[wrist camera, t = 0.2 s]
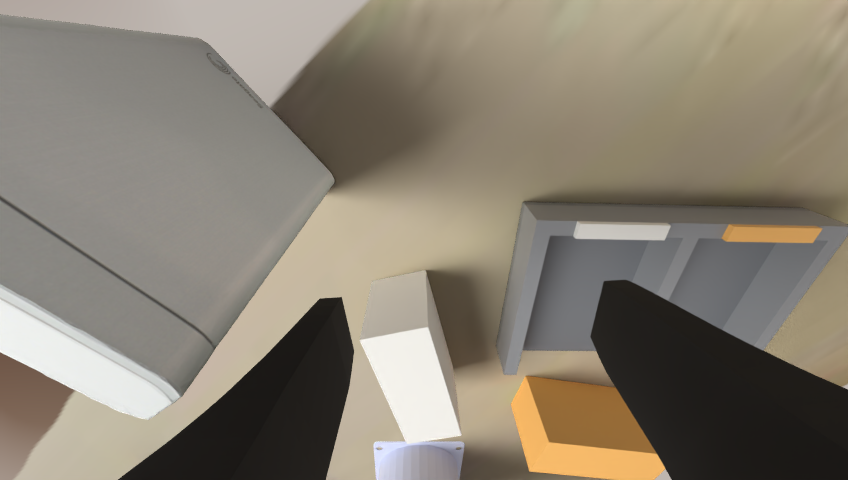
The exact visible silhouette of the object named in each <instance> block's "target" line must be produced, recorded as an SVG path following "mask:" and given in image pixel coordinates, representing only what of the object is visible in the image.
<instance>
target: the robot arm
mask: <svg viewBox="0 0 848 480" xmlns="http://www.w3.org/2000/svg"><path fill="white" fill-rule="evenodd" d="M590 337H591V339H592V342H593V344H594V346H595V349H596V351H597V353H598V356H599V358H600V360H601V362H602V364H603V366H604V368H605V370H606V372H607V374H608V376H609V377H610V379H611V381H612V382H613V384H614V385H615V387H616V389H617V390H618V392H619V394H620V395H621V397H622V399H623V400H624V402H625V403H626V405H627V407H628V408H629V410H630V411H631V413H632V415H633V416H634V418H635V419H636V421H637V423H638V424H639V426H640V428H641V429H642V431H643V432H644V434H645V436H646V437H647V439H648V440H649V442H650V444H651V445H652V447H653V448H654V450H655V452H656V453H657V455H658V456H659V458H660V460H661V462H662V463H663V465H664V467H665V469H666V470H667V472H668V474H669V476H670V477H671V479H672V480H848V390H847V389H845V388H843V387H841V386H838V385H836V384H834V383H831V382H829V381H827V380H825V379H822V378H820V377H818V376H815V375H813V374H811V373H809V372H807V371H805V370H802V369H800V368H798V367H796V366H794V365H792V364H789V363H787V362H785V361H783V360H781V359H779V358H777V357H775V356H773V355H771V354H769V353H767V352H765V351H763V350H761V349H759V348H757V347H755V346H753V345H751V344H749V343H747V342H745V341H743V340H741V339H739V338H737V337H735V336H733V335H731V334H729V333H727V332H725V331H723V330H722V329H720V328H718V327H716V326H714V325H712V324H710V323H708V322H706V321H705V320H703V319H701V318H699V317H697V316H695V315H693V314H692V313H690V312H688V311H686V310H684V309H682V308H680V307H679V306H677V305H675V304H673V303H671V302H669V301H668V300H666V299H664V298H662V297H660V296H658V295H656V294H654V293H653V292H651V291H649V290H647V289H645V288H643V287H641V286H639V285H637V284H635V283H633V282H631V281H628V280H611V281H604V282H603V286H602V290H601V294H600V298H599V303H598V307H597V311H596V315H595V319H594V323H593V327H592V331H591V336H590ZM353 355H354V349H353V344H352V340H351V336H350V331H349V327H348V323H347V318H346V314H345V310H344V305H343V301H342V297H339V298H323V299H319V300H318V301H317V302H316V303H315V304H314V305H313V306H312V307H311V308H310V310H309V311H308V312H307V313H306V314H305V315H304V316H303V317H302V318H301V319H300V320H299V321H298V322H297V323H296V324H295V326H294V327H293V328H292V329H291V330H290V331H289V332H288V333H287V334H286V335H285V336H284V337H283V338H282V339H281V340H280V341H279V342H278V343H277V344H276V345H275V346H274V347H273V348H272V350H271V351H270V352H269V353H268V354H267V355H266V356H265V357H264V358H263V359H262V360H261V361H260V362H258V363H257V364H256V365H255V366H254V367H253V368H252V369H251V370H250V371H249V372H248V373H247V374H246V375H245V376H244V377H243V378H242V379H241V380H240V381H239V382H237V383H236V384H235V385H234V386H233V387H232V388H231V389H230V390H229V391H228V392H227V393H226V394H225V395H223V396H222V397H221V398H220V399H219V400H218V401H217V402H216V403H214V404H213V405H212V406H211V407H210V408H209V409H207V410H206V411H205V412H204V413H203V414H202V415H200V416H199V417H198V418H197V419H195V420H194V421H193V422H192V423H191V424H189V425H188V426H187V427H186V428H185V429H183V430H182V431H181V432H180V433H179V434H177V435H176V436H175V437H174V438H172V439H171V440H170V441H169V442H167V443H166V444H165V445H163V446H162V447H161V448H159V449H158V450H157V451H155V452H154V453H153V454H151V455H150V456H149V457H147V458H146V459H145V460H143V461H142V462H141V463H139V464H138V465H137V466H135V467H134V468H133V469H131V470H130V471H129V472H128V473H126V474H125V475H124V476H122V477H121V478H120V479H118V480H326V476H327V472H328V468H329V464H330V461H331V457H332V453H333V449H334V445H335V441H336V437H337V433H338V429H339V425H340V422H341V418H342V414H343V410H344V406H345V402H346V398H347V394H348V390H349V385H350V378H351V371H352V363H353ZM464 446H465V444H464V443H463V442H417V443H411V444H407V443H406V442H375V443H374V457H375V470H376V480H459V479H460V472H461V466H462V459H463V453H464ZM377 447H381V448H382V449H381V450H378V449H377ZM457 447H461V449H460V450H457V449H456V448H457Z"/></svg>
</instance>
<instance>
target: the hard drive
mask: <svg viewBox="0 0 848 480" xmlns="http://www.w3.org/2000/svg"><path fill="white" fill-rule="evenodd" d="M334 182H335V181H334V178H333V176H332V174H331V172H330V171H329V170H328V169H327V168H326V167H325V166H324V165H323V164H322V163H321V162H320V160H319V159H318V158H317V157H316V156H315V155H314V154H313V153H312V152H311V151H310V150H309V149H308V148H307V147H306V146H305V145H304V144H303V143H302V141H301V140H300V139H299V138H298V137H297V136H296V135H295V134H294V133H293V132H292V131H291V130H290V129H289V128H288V127H287V126H286V125H285V124H284V123H283V122H282V120H281V119H280V118H279V117H278V116H277V115H276V114H275V113H274V112H273V111H272V110H271V109H270V108H269V107H268V106H267V105H266V104H265V103H264V102H263V101H262V100H261V99H260V97H259V96H258V95H257V94H256V93H255V92H254V91H253V90H252V89H251V88H250V87H249V86H248V85H247V84H246V83H245V82H244V80H243V79H242V78H241V77H239V75H238V74H237V73H236V72H234V70H233V69H232V68H231V67H230V66H229V65H228V64H227V63H226V62H225V60H224V59H223V58H222V57H221V56H220V55H219V54H218V53H217V52H216V51H215V50H214V49H213V48H212V47H211V46H210V45H209V44H208V43H206V42H204V41H203V40H201V39H199V38H193V37H185V36H178V35H169V34H161V33H150V32H143V31H133V30H124V29H117V28H110V27H102V26H94V25H86V24H77V23H70V22H60V21H51V20H42V19H34V18H26V17H17V16H9V15H1V14H0V352H1V353H3V354H5V355H7V356H9V357H11V358H13V359H15V360H17V361H19V362H21V363H23V364H26V365H27V366H30V367H31V368H33V369H36V370H38V371H39V372H41V373H43V374H45V375H46V376H48V377H50V378H52V379H54V380H56V381H59V382H60V383H62V384H64V385H66V386H68V387H70V388H72V389H74V390H76V391H78V392H80V393H82V394H84V395H86V396H88V397H89V398H91V399H93V400H96V401H98V402H100V403H103V404H105V405H107V406H109V407H111V408H113V409H115V410H117V411H119V412H121V413H126V414H129V415H131V416H134V417H138V418H142V419H148V420H149V419H151V418H152V417H154V416H156V415H157V414H158V413H160V412H161V411H162V410H164V409H165V408H167V407H168V406H170V405H171V404H173V403H174V402H176V401H177V400H178V399H179V398H180V397H182V396H183V394H184V393H185V391H186V390H187V389H188V387H189V386H190V385H191V383H192V382H193V380H194V379H195V378H196V376H197V375H198V373H199V372H200V370H201V369H202V368H203V366H204V365H205V364H206V362H207V361H208V359H209V358H210V356H211V355H212V353H213V351H214V350H215V348H216V347H217V345H218V344H219V343H220V341H221V340H222V339H223V338H224V336H225V335H226V334H227V332H228V331H229V329H230V328H231V326H232V325H233V324H234V322H235V321H236V320H237V318H238V317H239V315H240V313H241V312H242V311H243V310H244V308H245V307H246V305H247V304H248V302H249V301H250V300H251V298H252V297H253V296H254V294H255V293H256V291H257V290H258V289H259V287H260V286H261V284H262V283H263V282H264V280H265V279H266V277H267V276H268V275H269V273H270V272H271V270H272V269H273V268H274V266H275V265H276V264H277V262H278V261H279V260H280V258H281V257H282V255H283V254H284V253H285V251H286V250H287V248H288V247H289V246H290V244H291V243H292V242H293V240H294V239H295V237H296V236H297V234H298V233H299V232H300V230H301V229H302V227H303V226H304V225H305V223H306V222H307V220H308V219H309V218H310V216H311V215H312V213H313V212H314V210H315V209H316V208H317V206H318V205H319V204H320V202H321V201H322V199H323V198H324V197H325V195H326V194H327V192H328V191H329V190H330V188H331V187H332V186H333V184H334Z"/></svg>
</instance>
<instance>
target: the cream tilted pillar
mask: <svg viewBox="0 0 848 480" xmlns="http://www.w3.org/2000/svg"><path fill="white" fill-rule="evenodd" d="M360 342H361V344H362V346H363V348H364V351H365V353H366V355H367V357H368V359H369V362H370V364H371V366H372V368H373V370H374V373H375V375H376V377H377V379H378V381H379V384H380V386H381V388H382V390H383V392H384V395H385V397H386V399H387V401H388V403H389V406H390V408H391V410H392V412H393V414H394V416H395V419H396V421H397V423H398V425H399V427H400V430H401V432H402V434H403V436H404V438H405V441H406V443H407V444H411V443H417V442H424V441H430V440H436V439H443V438H449V437H455V436H462V435H461V427H460V419H459V410H458V402H457V394H456V385H455V377H454V369H453V365H452V362H451V358H450V355H449V351H448V347H447V344H446V340H445V337H444V333H443V330H442V326H441V323H440V319H439V315H438V312H437V308H436V305H435V301H434V298H433V294H432V291H431V287H430V283H429V280H428V276H427V273H426V270H423V271H418V272H413V273H408V274H403V275H398V276H394V277H389V278H384V279H379V280H374V281H372V284H371V288H370V293H369V298H368V303H367V308H366V312H365V317H364V322H363V327H362V331H361V336H360Z"/></svg>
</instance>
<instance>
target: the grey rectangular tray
mask: <svg viewBox="0 0 848 480" xmlns="http://www.w3.org/2000/svg"><path fill="white" fill-rule="evenodd" d="M847 236H848V224H845V223H843V222H840V221H837V220H835V219H832V218H829V217H826V216H824V215H821V214H818V213H816V212H813V211H810V210H807V209H805V208H787V207H740V206H694V205H647V204H601V203H554V202H523V203H522V208H521V214H520V219H519V224H518V230H517V235H516V241H515V246H514V251H513V257H512V262H511V267H510V273H509V278H508V283H507V289H506V294H505V299H504V305H503V310H502V316H501V321H500V326H499V332H498V337H497V342H496V348H497V352H498V355H499V359H500V362H501V366H502V369H503V373H504V374H507V375H516V374H517V370H518V366H519V362H520V357H521V353H522V350H542V351H596V349H595V346H594V344H593V342H592V339H591V337H590V336H591V331H592V327H593V323H594V319H595V315H596V311H597V307H598V303H599V298H600V294H601V290H602V286H603V282H604V281H611V280H628V281H631V282H633V283H635V284H637V285H639V286H641V287H643V288H645V289H647V290H649V291H651V292H653V293H654V294H656V295H658V296H660V297H662V298H664V299H666V300H668V301H669V302H671V303H673V304H675V305H677V306H679V307H680V308H682V309H684V310H686V311H688V312H690V313H692V314H693V315H695V316H697V317H699V318H701V319H703V320H705V321H706V322H708V323H710V324H712V325H714V326H716V327H718V328H720V329H722V330H723V331H725V332H727V333H729V334H731V335H733V336H735V337H737V338H739V339H741V340H743V341H745V342H747V343H749V344H751V345H753V346H755V347H757V348H759V349H761V350H764V349H765V347H766V346H767V344H768V343H769V342H770V340H771V339H772V338H773V336H774V335H775V334H776V332H777V331H778V329H779V328H780V327H781V325H782V324H783V323H784V321H785V320H786V319H787V317H788V316H789V315H790V313H791V312H792V310H793V309H794V308H795V306H796V305H797V304H798V302H799V301H800V300H801V298H802V297H803V295H804V294H805V293H806V291H807V290H808V289H809V287H810V286H811V285H812V283H813V282H814V281H815V279H816V278H817V276H818V275H819V274H820V272H821V271H822V270H823V268H824V267H825V266H826V264H827V263H828V261H829V260H830V259H831V257H832V256H833V255H834V253H835V252H836V251H837V249H838V248H839V246H840V245H841V244H842V242H843V241H844V240H845V238H846V237H847Z"/></svg>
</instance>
